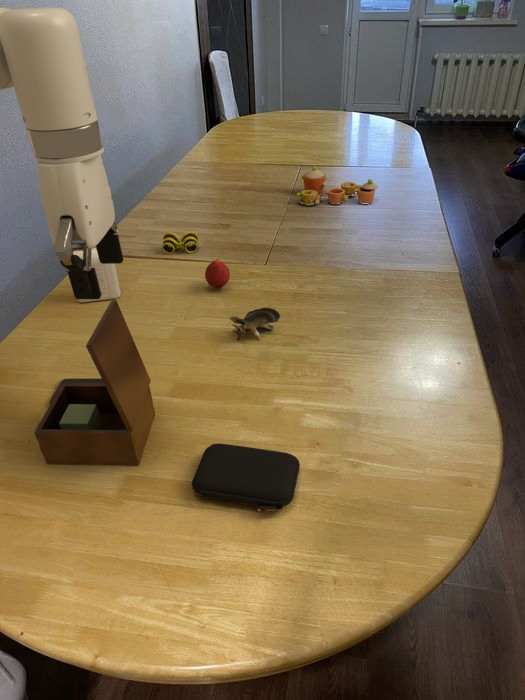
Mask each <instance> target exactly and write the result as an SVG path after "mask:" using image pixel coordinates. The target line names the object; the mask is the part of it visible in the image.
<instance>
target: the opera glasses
mask: <svg viewBox="0 0 525 700" xmlns="http://www.w3.org/2000/svg"><path fill="white" fill-rule="evenodd" d="M198 244H199V234H197V232H194V231H192V230H191V231H186V232H184V233H183V234H182V236H181V238H179V236H178V235H177V234H176V233H173V232H166V233H164V234H163V237H162V246H161V250H162V251H163V253H165V254H167V255H172V254H174V253H175V251H176V250H177V249H181V248H183V249H184V250H185V252H186V253H188V254H193V253H196V252H197V251H198V248H199V247H198Z"/></svg>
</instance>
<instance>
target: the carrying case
mask: <svg viewBox="0 0 525 700" xmlns="http://www.w3.org/2000/svg"><path fill="white" fill-rule="evenodd" d="M198 463H199V464H198V466H197V468H196V470H195V473H194V475H193V477H192V480H191V488H192V490H193V492H194V493H195V494H196V495H198V496H200V497H201V499H210V500H217V501H221V502H222V501H223V502H228V503H235V504H240V505H241V504H242V505H246V506H253V507H254V511H255V512H257V513H265V512H276V511H277V510H282V509H283V508H285V507H287V506H288V505H290V504H291V503H292V502H293V500H294V496H295V493H296V486H297V483H298V479H299V478H298V477H299V474H300V473H299V472H300V468H301V464H300V461H299V459H298V458H297V457H296V456H295V455H293V454H292V453H289V452H285V451H278V450H270V449H264V448H258V447H250V446H243V445H236V444H227V443H219V442H218V443H212V444H210V445H209V446H207V447H206V448H205V449H204V451H203V454H202V456H201V458H200V461H199V462H198Z"/></svg>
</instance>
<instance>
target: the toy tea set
mask: <svg viewBox="0 0 525 700" xmlns="http://www.w3.org/2000/svg"><path fill="white" fill-rule="evenodd" d="M301 179H302V180H303V185H304V190H302V191H301V192H297V193H296V194H295V197H296V198H299V199H298V203H299V202H300V203H301V205H303V204H305V205H304V206H314V204H315V205H319V204H320V200H321V198H322V195H323V194H324V188H325V187H327V182H326V174H325V173H324V172H322V171H321V170H320V169H318V167H317V166H316V165H313V166H312V168H311V169H310V170H308V171H306V173H304V174H301ZM378 188H379V187H378V185H377V184H376V183H374V182H373V179H372V178H369V179H368V180H367V182H365V183H363V184H362V185H361V184H357V183H356V182H353V181H345V182H342V183H341V184H340V187H334V188H333V187H332V188H329V189H327V192H326V193H325V194H326V196H327V200H328V201H329V202H330V203H334V204H337V203H342V202H343V203H344V201H347V200H348V198H349V197H348V196H353V195H356V194H357V195H356V197H357V202H358V201H359V202H361V203H370V202H372V203H373V201H374V198H375V193H376V190H377V189H378ZM355 192H357V193H356V194H355ZM322 193H323V194H322ZM320 194H322V195H321V196H317V195H320ZM352 194H353V195H352ZM329 202H328V203H329ZM300 203H299V204H300ZM343 203H342V204H343Z"/></svg>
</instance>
